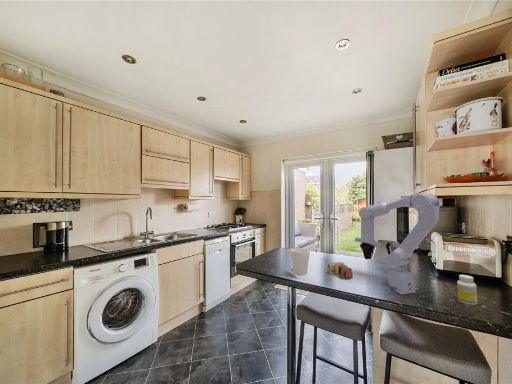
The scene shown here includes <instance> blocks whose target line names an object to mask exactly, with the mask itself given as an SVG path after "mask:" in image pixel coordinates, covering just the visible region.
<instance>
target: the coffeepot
mask: <svg viewBox="0 0 512 384" xmlns="http://www.w3.org/2000/svg"><path fill="white" fill-rule="evenodd" d="M402 242H403V240H398V243H393V242H387V243H386V244H385V247H386V252H387V255H389V254H391V253H392V252H393V251H394V250H395V249H397V248H398V247H399V246H400V245H401V243H402ZM407 271H408V272H410V273H412V270H411V265H410V263H409V264H408V265H407Z"/></svg>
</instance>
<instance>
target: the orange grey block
mask: <svg viewBox="0 0 512 384" xmlns="http://www.w3.org/2000/svg"><path fill="white" fill-rule="evenodd" d="M341 271H343V272H344V276H346V277H348V276H352V275H353V269H352V268H351V267H348V265H346V267H341V268H340V273H341Z"/></svg>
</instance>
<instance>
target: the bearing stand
mask: <svg viewBox="0 0 512 384" xmlns="http://www.w3.org/2000/svg"><path fill="white" fill-rule="evenodd" d="M336 264H344V265H345V263H344V262H342V261H337V262H327V274H329V275H333V276H335V277H336V278H340V279H341V280H348V279H353V274H352V276H348V277H346V276H344V272H343V271H341V275H337V274H335V273H334V265H336Z"/></svg>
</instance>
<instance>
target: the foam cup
mask: <svg viewBox="0 0 512 384" xmlns="http://www.w3.org/2000/svg"><path fill="white" fill-rule="evenodd" d="M310 254H311V251H310V249H306V248H300V247H299V248H292V249H290V255H291V264H292V272H293V275H294V274H295V275H297V276H307V274H308V267H309V260H310Z"/></svg>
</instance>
